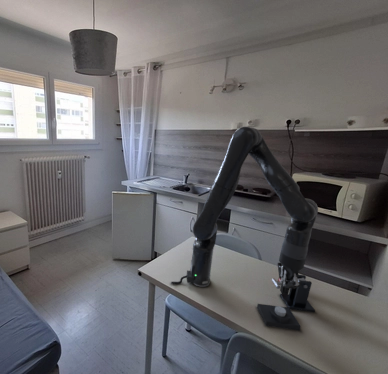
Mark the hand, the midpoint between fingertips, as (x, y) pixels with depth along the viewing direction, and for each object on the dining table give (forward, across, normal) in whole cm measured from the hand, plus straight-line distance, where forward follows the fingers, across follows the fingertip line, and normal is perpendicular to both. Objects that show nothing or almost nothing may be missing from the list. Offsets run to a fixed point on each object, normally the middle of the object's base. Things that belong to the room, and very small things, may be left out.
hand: (283, 293), depth 84 cm
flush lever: (+4, -11, +8) cm, 14 cm away
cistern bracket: (+12, -11, +12) cm, 20 cm away
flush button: (+9, 0, 0) cm, 9 cm away
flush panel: (+13, -1, 0) cm, 13 cm away
